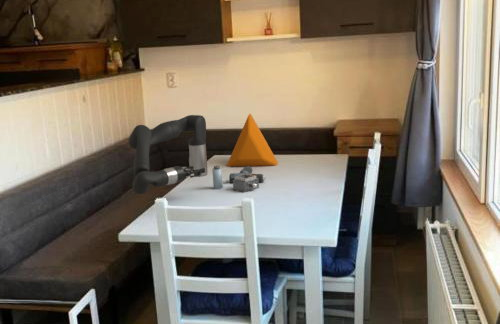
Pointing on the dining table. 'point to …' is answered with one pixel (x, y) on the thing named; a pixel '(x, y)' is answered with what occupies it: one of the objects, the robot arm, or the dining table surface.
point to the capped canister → (217, 177)
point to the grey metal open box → (245, 183)
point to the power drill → (246, 171)
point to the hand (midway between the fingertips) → (198, 169)
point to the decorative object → (251, 148)
